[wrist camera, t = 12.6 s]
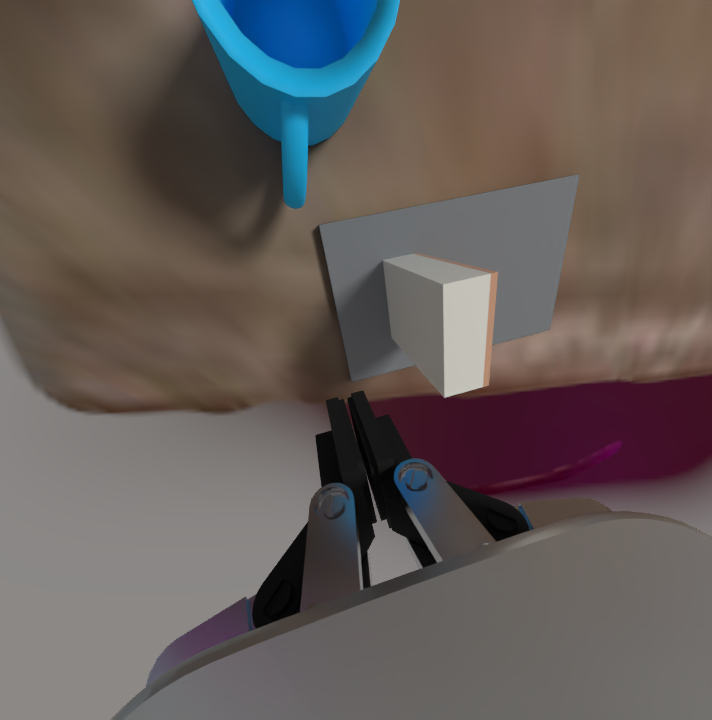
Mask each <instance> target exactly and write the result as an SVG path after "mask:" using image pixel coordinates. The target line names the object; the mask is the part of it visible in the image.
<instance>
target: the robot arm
mask: <svg viewBox="0 0 712 720" xmlns="http://www.w3.org/2000/svg"><path fill="white" fill-rule="evenodd" d="M347 400H348V404H349V409H350V413H351V417H352V422H353V426H354V431H355V435H356V438H355V435H354V431H353V428H352V425H351V422H350V419H349V415H348V412H347V409H346V406H345V403H344V399H342V400H338V397H337V398H333V399H329V400H326V404H327V408H328V413H329V418H330V423H331V428H332V431H328V432H325V433H321V434H318V435H316V445H317V453H318V462H319V470H320V478H321V486H322V488H320V489H319V490H318V491H317V492H316V493H315V494H314V496H313V498H312V499H311V503H310V508H309V518H308V519H309V520H308V522H307V524H306V525H305V527H304V528H303V529H302V531H301V532H300V533H299V535H298V536H297V537H296V539H295V540H294V541H293V543H292V544H291V546H290V547H289V548H288V550H287V551H286V552H285V554H284V555H283V556H282V558H281V559H280V561H279V562H278V563H277V565H276V566H275V567H274V569H273V570H272V572H271V573H270V574H269V576H268V577H267V578H266V580H265V581H264V582H263V584H262V585H261V587H260V589H259V590H258V592H257V594H256V595H254V596H253V597H251V598H249V599H247V598H246V597H244V598H243V599H241V600H239V601H238V602H236V603H234V604H233V605H231V606H229V607H228V608H226V609H225V610H223V611H221V612H220V613H218V614H216V615H215V616H213V617H212V618H210V619H208V620H207V621H205V622H204V623H202V624H200V625H199V626H197V627H195V628H194V629H192V630H190V631H189V632H187V633H186V634H184V635H182V636H181V637H179V638H178V639H176V640H175V641H174V642H172V643H171V644H170V645H169V646H167V648H166V649H165V650H164V651H163V652H162V654H161V655H160V656H159V657H158V659H157V660H156V662H155V664H154V666H153V668H152V670H151V672H150V674H149V677H148V681H147V684H146V688H144V689H143V690H142V691H141V692H140V693H139V694H137V695H136V696H135V697H134V698H133V699H132V700H130V701H129V702H128V703H127V704H126V705H125V706H124V707H123V708H122V709H121V710H120V711H119V712H118V713H117V714H116V715H115V716H114V717H113V718H112V719H111V720H712V536H710V535H708V534H706V533H704V532H702V531H700V530H699V529H697V528H695V527H693V526H691V525H688V524H686V523H684V522H681V521H678V520H675V519H672V518H669V517H665V516H660V515H655V514H649V513H641V512H631V511H611V510H610V509H609V508H608V507H606V506H605V505H603V504H601V503H600V502H597V501H595V500H592V499H589V498H568V499H555V500H543V501H531V502H520V504H519V506H512V505H510V504H508V503H505V502H503V501H501V500H498V499H495V498H492V497H490V496H487V495H484V494H481V493H479V492H476V491H473V490H470V489H467V488H465V487H461V486H459V485H456V484H454V483H451V482H448V481H445V480H444V478H443V477H442V476H441V475H440V474H439V472H438V471H437V470H436V469H435V468H434V467H433V466H432V465H431V464H430V463H428V462H426V461H424V460H421V459H412V457H411V455H410V454H409V452H408V450H407V448H406V446H405V444H404V442H403V441H402V439H401V437H400V435H399V433H398V431H397V429H396V427H395V426H394V424H393V422H392V420H391V418H390V416H389V415H384V416H381V417H378V418H375V416H374V413H373V411H372V409H371V407H370V405H369V402H368V400H367V398H366V396H365V394H364V391H359V392H355V393H352V394H351V397H349V398H347ZM356 439H357V441H356ZM365 470H366V471H365ZM366 473H367V476H368V480H369V483H370V486H371V489H372V493H373V495H374V499H375V502H376V505H377V509H378V512H379V515H380V518H381V521H382V520H385V519H387V522H388V525H389V528H392V530H393V531H395V532H396V533H398V534H400V535H402V536H403V538H404V540H405V543H406V545H407V546H408V548H409V550H410V552H411V554H412V556H413V558H414V560H415V562H416V563H417V565H418V567H419V570H416V571H414V572H410V573H408V574H405V575H402V576H399V577H396V578H394V579H391V580H388V581H385V582H382V583H380V584H377V585H374V586H372V577H371V567H370V557H369V552H368V549H369V547H370V545H371V543H372V541H373V539H374V537H375V534H374V530H373V526H372V524H373V523H376V522H377V520H376V516H375V511H374V507H373V503H372V498H371V493H370V489H369V485H368V480H367V476H366Z"/></svg>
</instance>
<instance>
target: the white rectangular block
mask: <svg viewBox="0 0 712 720" xmlns="http://www.w3.org/2000/svg"><path fill="white" fill-rule="evenodd" d="M383 267H384V276H385V285H386V293H387V302H388V311H389V320H390V328H391V337H392V339H393V340H394V341H395V342H396V343H397V344H398V346H399V347H400V348H401V349H402V350H403V351H404V352H405V354H406V355H407V356H408V357H409V358H410V359H411V360H412V361H413V363H414V364H415V365H416V366H417V367H418V368H419V369H420V371H421V372H422V373H423V374H424V375H425V376H426V377H427V378H428V380H429V381H430V382H431V383H432V384H433V385H434V386H435V388H436V389H437V390H438V391H439V392H440V393H441V394H442V395H443V397H444V398H445V397H449V396H452V395H456V394H459V393H463V392H467V391H470V390H474V389H477V388H481V387H484V386H488V385H489V376H490V364H491V352H492V340H493V328H494V316H495V304H496V292H497V280H498V272H497V271H493V270H488V269H484V268H480V267H476V266H471V265H467V264H463V263H459V262H454V261H450V260H446V259H441V258H437V257H433V256H429V255H424V254H420V253H414V254H409V255H405V256H400V257H395V258H391V259H386V260H383Z"/></svg>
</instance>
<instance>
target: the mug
mask: <svg viewBox="0 0 712 720" xmlns="http://www.w3.org/2000/svg"><path fill="white" fill-rule="evenodd" d="M192 2H193V4H194V6H195V9H196V11H197V13H198V15H199V18H200V20H201V22H202V24H203V27H204V29H205V31H206V33H207V36H208V38H209V40H210V42H211V45H212V47H213V49H214V51H215V54H216V56H217V58H218V61H219V63H220V65H221V67H222V70H223V72H224V74H225V76H226V79H227V81H228V83H229V85H230V87H231V89H232V92H233V94H234V96H235V98H236V100H237V103H238V104H239V105H240V107H241V108H242V109H243V111H244V112H245V113H246V114H247V116H248V117H249V118H250V120H251V121H252V122H253V123H254V125H256V126H257V127H258V128H260V129H261V130H262V131H263V132H265V133H266V134H267V135H269V136H270V137H271V138H273V139H275V140H277V141H280V142H281V145H282V174H283V195H284V201H285V203H286V204H287V205H288V206H289V207H291V208H294V209H297V208H301V207H302V206H303V205H304V203H305V197H306V185H307V163H308V146H312V145H315V144H317V143H319V142H321V141H323V140H326V139H328V138H330V137H331V136H332V135H333V134H334V133H335V132H336V131H337V129H338V128H339V127H340V126H341V125H342V124H343V123H344V121H345V120H346V118H347V116H348V114H349V112H350V110H351V108H352V106H353V105H354V103H355V101H356V99H357V97H358V95H359V93H360V91H361V90H362V88H363V86H364V84H365V82H366V80H367V78H368V76H369V75H370V73H371V71H372V69H373V67H374V65H375V63H376V61H377V60H378V57H379V55H380V53H381V51H382V49H383V47H384V45H385V43H386V41H387V39H388V37H389V35H390V33H391V31H392V29H393V27H394V25H395V21H396V17H397V12H398V7H399V3H400V0H192Z"/></svg>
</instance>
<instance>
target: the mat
mask: <svg viewBox="0 0 712 720" xmlns="http://www.w3.org/2000/svg"><path fill="white" fill-rule="evenodd" d="M579 175H580V174H579ZM579 175H573V176H568V177H563V178H558V179H553V180H548V181H542V182H537V183H532V184H527V185H522V186H517V187H512V188H507V189H501V190H496V191H491V192H486V193H481V194H476V195H471V196H466V197H460V198H455V199H450V200H445V201H440V202H435V203H430V204H425V205H419V206H414V207H409V208H404V209H399V210H394V211H389V212H384V213H378V214H373V215H368V216H363V217H358V218H353V219H348V220H343V221H337V222H332V223H327V224H322V225H319V230H320V235H321V240H322V244H323V249H324V254H325V259H326V263H327V268H328V273H329V278H330V282H331V287H332V292H333V297H334V301H335V306H336V311H337V316H338V320H339V325H340V330H341V335H342V339H343V344H344V349H345V354H346V358H347V363H348V368H349V373H350V377H351V381H352V382H353V381H357V380H361V379H365V378H369V377H372V376H376V375H380V374H384V373H388V372H391V371H395V370H399V369H403V368H407V367H410V366H414V365H415V364H414V363H413V361H412V360H411V359H410V358H409V357H408V356H407V355H406V354H405V352H404V351H403V350H402V349H401V348H400V347H399V346H398V344H397V343H396V342H395V341H394V340H393V339H392V337H391V328H390V320H389V311H388V302H387V293H386V285H385V276H384V267H383V260H386V259H391V258H395V257H400V256H405V255H409V254H414V253H420V254H424V255H429V256H433V257H437V258H441V259H446V260H450V261H454V262H459V263H463V264H467V265H471V266H476V267H480V268H484V269H488V270H493V271H497V272H498V280H497V292H496V304H495V316H494V328H493V340H492V345H494V344H498V343H501V342H505V341H509V340H513V339H517V338H520V337H524V336H528V335H532V334H536V333H539V332H543V331H547V330H550V327H551V321H552V316H553V311H554V306H555V300H556V295H557V290H558V285H559V279H560V274H561V269H562V264H563V258H564V253H565V248H566V243H567V238H568V232H569V227H570V222H571V217H572V211H573V206H574V201H575V196H576V190H577V185H578V180H579Z"/></svg>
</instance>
